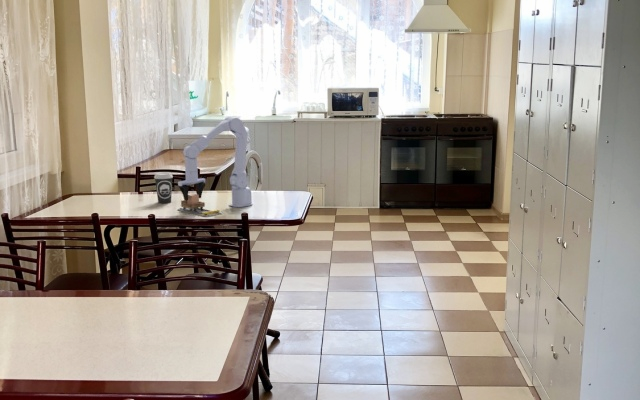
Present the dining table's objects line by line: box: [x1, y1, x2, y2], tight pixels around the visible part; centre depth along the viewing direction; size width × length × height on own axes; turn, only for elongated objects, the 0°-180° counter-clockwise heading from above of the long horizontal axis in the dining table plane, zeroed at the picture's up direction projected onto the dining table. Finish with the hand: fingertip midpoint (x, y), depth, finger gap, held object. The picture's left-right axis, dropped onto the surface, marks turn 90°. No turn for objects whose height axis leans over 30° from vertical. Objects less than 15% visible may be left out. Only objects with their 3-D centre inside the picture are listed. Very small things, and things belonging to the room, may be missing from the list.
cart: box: [180, 199, 206, 211], centre depth 328 cm, size 8×8×4 cm
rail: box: [177, 207, 223, 218], centre depth 325 cm, size 9×23×2 cm, turn 46°
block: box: [187, 193, 200, 204], centre depth 328 cm, size 4×4×5 cm
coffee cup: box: [153, 171, 174, 204], centre depth 349 cm, size 10×10×15 cm
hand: (192, 199), depth 328 cm, fingers open, 7 cm apart
